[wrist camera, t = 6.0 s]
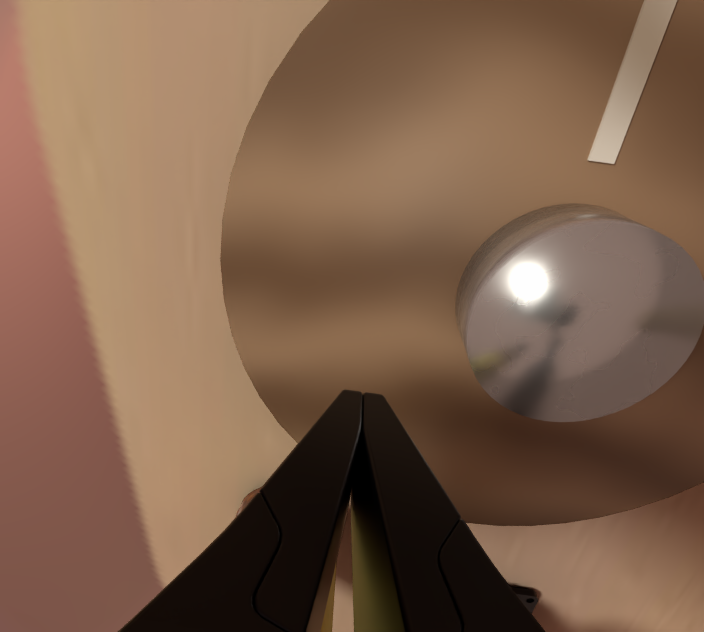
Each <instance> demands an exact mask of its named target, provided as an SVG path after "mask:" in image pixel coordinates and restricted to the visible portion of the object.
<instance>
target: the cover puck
mask: <svg viewBox="0 0 704 632" xmlns="http://www.w3.org/2000/svg"><path fill="white" fill-rule="evenodd" d="M455 314H456V322H457V325H458V329H459V332H460V335H461V338H462V341H463V344H464V347H465V350H466V353H467V356H468V359H469V362H470V365H471V368H472V370H473V372H474V375H475V377H476V379H477V380H478V382H479V383H480V385H481V386H482V388H483V389H484V390H485V391H486V392H487V393H488V394H489V396H490V397H491V398H493V399H494V400H495V401H497V402H498V403H499V404H500V405H502V406H504V407H505V408H507V409H509V410H510V411H513V412H515V413H517V414H520V415H522V416H526V417H529V418H532V419H537V420H543V421H550V422H576V421H584V420H590V419H595V418H599V417H603V416H606V415H609V414H613V413H616V412H618V411H620V410H623V409H625V408H628V407H630V406H632V405H634V404H635V403H637V402H639V401H641V400H643V399H644V398H646V397H647V396H649V395H650V394H652V393H654V392H655V391H656V390H657V389H659V388H660V387H661V386H662V385H664V384H665V383H666V382H667V381H668V380H669V379H670V378H671V377H672V376H673V375H674V374H675V373H676V372H677V371H678V370H679V369H680V368H681V366H682V365H683V364H684V363H685V362H686V360H687V359H688V357H689V356H690V354H691V352H692V351H693V349H694V348H695V345H696V343H697V341H698V339H699V337H700V335H701V332H702V328H703V325H704V281H703V278H702V275H701V273H700V270H699V268H698V267H697V265H696V263H695V262H694V260H693V259H692V257H691V256H690V255H689V254H688V253H687V252H686V251H685V250H684V249H683V248H682V247H681V246H680V245H678V244H677V243H676V242H675V241H673V240H672V239H670V238H668V237H667V236H665V235H663V234H661V233H659V232H657V231H655V230H653V229H651V228H649V227H647V226H645V225H642V224H640V223H638V222H636V221H634V220H632V219H630V218H628V217H626V216H624V215H622V214H620V213H618V212H616V211H613V210H610V209H607V208H604V207H602V206H596V205H591V204H581V203H569V204H558V205H553V206H547V207H543V208H540V209H537V210H534V211H531V212H528V213H526V214H524V215H522V216H520V217H517V218H516V219H514V220H512V221H511V222H509V223H507V224H506V225H504V226H503V227H501V228H500V229H499V230H497V231H496V232H495V233H493V234H492V235H491V236H490V237H489V238H488V239H487V240H486V241H485V242H484V243H483V244H482V245H481V246H480V247H479V249H478V250H477V251H476V252H475V254H474V255H473V256H472V258H471V259H470V261H469V263H468V264H467V266H466V268H465V270H464V272H463V274H462V276H461V279H460V282H459V285H458V289H457V294H456V300H455Z"/></svg>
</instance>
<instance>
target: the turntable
mask: <svg viewBox="0 0 704 632" xmlns="http://www.w3.org/2000/svg"><path fill="white" fill-rule="evenodd" d="M569 203H581V204H591V205H596V206H602V207H604V208H607V209H610V210H613V211H616V212H618V213H620V214H622V215H624V216H626V217H628V218H630V219H632V220H634V221H636V222H638V223H640V224H642V225H645V226H647V227H649V228H651V229H653V230H655V231H657V232H659V233H661V234H663V235H665V236H667V237H668V238H670V239H672V240H673V241H675V242H676V243H677V244H678V245H680V246H681V247H682V248H683V249H684V250H685V251H686V252H687V253H688V254H689V255H690V256H691V257H692V259H693V260H694V262H695V263H696V265H697V267H698V268H699V270H700V273H701V275H702V278H703V281H704V0H329V2H328V3H327V4H326V5H325V6H324V7H323V8H322V10H321V11H320V12H319V13H318V14H317V15H316V16H315V17H314V19H313V20H312V21H311V22H310V23H309V24H308V25H307V27H306V28H305V29H304V30H303V31H302V32H301V34H300V35H299V37H298V38H297V40H296V41H295V43H294V44H293V46H292V47H291V49H290V50H289V52H288V53H287V55H286V56H285V58H284V59H283V61H282V62H281V64H280V65H279V67H278V68H277V70H276V71H275V73H274V74H273V76H272V77H271V79H270V80H269V82H268V85H267V87H266V89H265V91H264V93H263V95H262V97H261V99H260V101H259V103H258V105H257V107H256V109H255V111H254V113H253V115H252V117H251V119H250V121H249V123H248V125H247V127H246V130H245V133H244V136H243V139H242V142H241V145H240V148H239V151H238V154H237V157H236V160H235V163H234V166H233V169H232V172H231V176H230V182H229V187H228V192H227V198H226V203H225V208H224V214H223V220H222V240H221V260H220V261H221V272H222V284H223V295H224V302H225V307H226V311H227V315H228V320H229V324H230V328H231V333H232V336H233V339H234V342H235V344H236V347H237V350H238V352H239V355H240V358H241V360H242V363H243V366H244V368H245V370H246V372H247V374H248V376H249V377H250V379H251V381H252V383H253V385H254V387H255V389H256V390H257V392H258V394H259V396H260V398H261V399H262V400H263V402H264V403H265V405H266V406H267V407H268V409H269V410H270V412H271V413H272V414H273V416H274V417H275V419H276V420H277V421H278V423H279V424H280V425H281V426H282V427H283V428H284V429H285V430H286V431H287V433H288V434H289V435H290V436H291V437H292V438H293V439H294V440H295V441H296V442H297V443H299V442H300V441H301V439H302V438H303V437H304V436H305V435H306V433H307V432H308V431H309V430H310V429H311V427H312V426H313V425H314V424H315V423H316V421H317V420H318V419H319V418H320V417H321V415H322V414H323V413H324V412H325V411H326V409H327V408H328V407H329V406H330V405H331V403H332V402H333V401H334V400H335V398H336V397H337V396H338V395H339V394H340V392H341V391H342V390H344V389H347V390H354V391H360V392H362V394H364V393H365V392H369V393H377V394H382V395H383V396H384V397H385V398H386V400H387V401H388V403H389V405H390V406H391V408H392V409H393V411H394V412H395V414H396V415H397V417H398V419H399V420H400V422H401V423H402V425H403V426H404V428H405V429H406V431H407V433H408V434H409V436H410V437H411V439H412V440H413V442H414V443H415V445H416V447H417V448H418V450H419V451H420V453H421V454H422V456H423V457H424V459H425V461H426V462H427V464H428V465H429V467H430V468H431V470H432V471H433V473H434V475H435V476H436V478H437V479H438V481H439V482H440V484H441V485H442V487H443V489H444V490H445V492H446V493H447V495H448V496H449V498H450V499H451V501H452V503H453V504H454V506H455V507H456V509H457V510H458V512H459V513H460V515H461V519H463V520H464V521H465V522H466V523H475V524H486V525H497V526H535V525H547V524H559V523H568V522H575V521H581V520H587V519H593V518H599V517H603V516H607V515H611V514H615V513H619V512H623V511H627V510H631V509H635V508H638V507H641V506H644V505H647V504H650V503H653V502H656V501H659V500H662V499H665V498H668V497H670V496H673V495H675V494H677V493H680V492H682V491H684V490H687V489H689V488H691V487H694V486H696V485H698V484H701V483H703V482H704V325H703V328H702V332H701V335H700V337H699V339H698V341H697V343H696V345H695V348H694V349H693V351H692V352H691V354H690V356H689V357H688V359H687V360H686V362H685V363H684V364H683V365H682V366H681V368H680V369H679V370H678V371H677V372H676V373H675V374H674V375H673V376H672V377H671V378H670V379H669V380H668V381H667V382H666V383H665V384H664V385H662V386H661V387H660V388H659V389H657V390H656V391H655V392H654V393H652V394H650V395H649V396H647V397H646V398H644V399H643V400H641V401H639V402H637V403H635V404H634V405H632V406H630V407H628V408H625V409H623V410H620V411H618V412H616V413H613V414H609V415H606V416H603V417H599V418H595V419H590V420H584V421H576V422H550V421H543V420H537V419H532V418H529V417H526V416H522V415H520V414H517V413H515V412H513V411H510V410H509V409H507V408H505V407H504V406H502V405H500V404H499V403H498V402H497V401H495V400H494V399H493V398H491V397H490V396H489V394H488V393H487V392H486V391H485V390H484V389H483V388H482V386H481V385H480V383H479V382H478V380H477V379H476V377H475V375H474V372H473V370H472V368H471V365H470V362H469V359H468V356H467V353H466V350H465V347H464V344H463V341H462V338H461V335H460V332H459V329H458V325H457V322H456V314H455V300H456V294H457V289H458V285H459V282H460V279H461V276H462V274H463V272H464V270H465V268H466V266H467V264H468V263H469V261H470V259H471V258H472V256H473V255H474V254H475V252H476V251H477V250H478V249H479V247H480V246H481V245H482V244H483V243H484V242H485V241H486V240H487V239H488V238H489V237H490V236H491V235H492V234H493V233H495V232H496V231H497V230H499V229H500V228H501V227H503V226H504V225H506V224H507V223H509V222H511V221H512V220H514V219H516V218H517V217H520V216H522V215H524V214H526V213H528V212H531V211H534V210H537V209H540V208H543V207H547V206H553V205H558V204H569Z"/></svg>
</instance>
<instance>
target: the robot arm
mask: <svg viewBox="0 0 704 632" xmlns="http://www.w3.org/2000/svg"><path fill="white" fill-rule="evenodd" d="M350 495H351V541H352V575H353V610H354V632H545V630H544V629H543V628H542V627H541V625H540V624H539V623H538V622H537V620H536V619H535V618H534V616H533V615H532V614H531V613H532V611H533V610H534V608H535V606H536V604H537V602H538V598H537V594H536V592H535V591H534V590H529V589H522V588H515V587H510V586H509V584H508V583H507V582H506V580H505V579H504V578H503V576H502V575H501V574H500V572H499V571H498V570H497V568H496V567H495V566H494V564H493V563H492V562H491V560H490V559H489V557H488V556H487V554H486V553H485V551H484V550H483V548H482V547H481V545H480V544H479V542H478V541H477V539H476V538H475V537H474V535H473V533H472V532H471V530H470V529H469V527H468V526H467V524H466V522H465V521H464V520H463V519H461V515H460V513H459V512H458V510H457V509H456V507H455V506H454V504H453V503H452V501H451V499H450V498H449V496H448V495H447V493H446V492H445V490H444V489H443V487H442V485H441V484H440V482H439V481H438V479H437V478H436V476H435V475H434V473H433V471H432V470H431V468H430V467H429V465H428V464H427V462H426V461H425V459H424V457H423V456H422V454H421V453H420V451H419V450H418V448H417V447H416V445H415V443H414V442H413V440H412V439H411V437H410V436H409V434H408V433H407V431H406V429H405V428H404V426H403V425H402V423H401V422H400V420H399V419H398V417H397V415H396V414H395V412H394V411H393V409H392V408H391V406H390V405H389V403H388V401H387V400H386V398H385V397H384V396H383V395H382V394H377V393H369V392H365V393H364V394H362V392H360V391H354V390H347V389H344V390H342V391H341V392H340V394H339V395H338V396H337V397H336V398H335V400H334V401H333V402H332V403H331V405H330V406H329V407H328V408H327V409H326V411H325V412H324V413H323V414H322V415H321V417H320V418H319V419H318V420H317V421H316V423H315V424H314V425H313V426H312V427H311V429H310V430H309V431H308V432H307V433H306V435H305V436H304V437H303V438H302V439H301V441H300V442H299V443H298V444H297V445H296V447H295V448H294V449H293V450H292V451H291V453H290V454H289V455H288V456H287V457H286V459H285V460H284V461H283V462H282V463H281V465H280V466H279V467H278V468H277V470H276V471H275V472H274V473H273V474H272V476H271V477H270V478H269V479H268V480H267V482H266V483H265V484H264V485H263V486H262V488H261V489H260V490H259V493H256V494H255V496H254V497H253V498H252V499H251V501H250V502H249V503H248V504H247V505H246V507H245V508H244V509H243V510H242V511H241V512H240V513H239V515H238V516H237V517H236V518H235V519H234V520H233V521H232V522H231V523H230V525H229V526H228V527H227V528H226V529H225V530H224V531H223V532H222V533H221V534H220V535H219V536H218V537H217V538H216V539H215V540H214V541H213V542H212V543H211V544H210V545H209V546H208V547H207V548H206V549H205V550H204V551H203V552H202V553H201V554H200V555H199V556H198V557H197V558H196V559H195V560H194V561H193V562H192V563H191V564H190V565H188V566H187V567H186V568H185V569H184V570H183V571H182V572H181V573H180V574H179V575H178V576H177V577H176V578H175V579H174V580H173V581H172V582H170V583H169V584H168V585H167V586H166V587H165V588H164V589H163V590H162V591H161V592H160V593H159V594H158V595H157V596H156V597H155V598H154V599H153V600H151V601H150V602H149V603H148V604H147V605H146V606H145V607H144V608H143V609H142V610H141V611H140V612H139V613H138V614H137V615H136V616H135V617H133V618H132V619H131V620H130V621H129V622H128V623H127V624H126V625H125V626H124V627H123V628H121V629H120V630H119V631H118V632H321V627H322V623H323V618H324V614H325V609H326V605H327V601H328V596H329V592H330V587H331V583H332V578H333V574H334V569H335V565H336V561H337V556H338V552H339V547H340V543H341V538H342V534H343V529H344V525H345V520H346V516H347V512H348V506H349V501H350Z"/></svg>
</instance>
